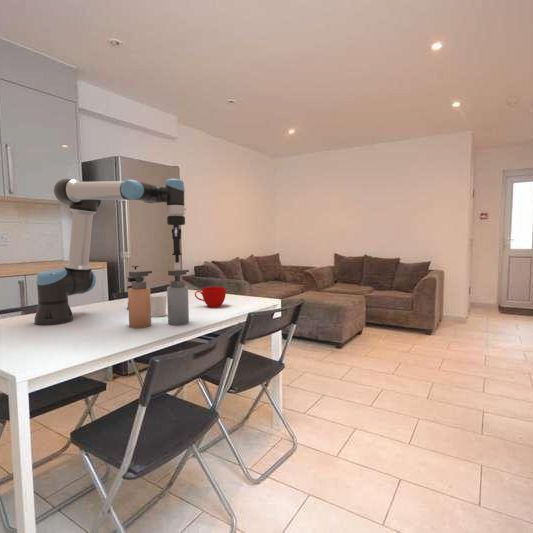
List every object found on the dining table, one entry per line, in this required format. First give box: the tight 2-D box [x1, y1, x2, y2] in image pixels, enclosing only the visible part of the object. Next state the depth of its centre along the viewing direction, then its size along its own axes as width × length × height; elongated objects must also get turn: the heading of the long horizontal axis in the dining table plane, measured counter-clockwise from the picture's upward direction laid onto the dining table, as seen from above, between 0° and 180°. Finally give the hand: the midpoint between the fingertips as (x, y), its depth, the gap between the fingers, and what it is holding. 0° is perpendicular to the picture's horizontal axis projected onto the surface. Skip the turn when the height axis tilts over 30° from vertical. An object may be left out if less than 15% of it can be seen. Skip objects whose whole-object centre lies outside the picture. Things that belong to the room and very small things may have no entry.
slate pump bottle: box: [166, 279, 190, 326], centre depth 158 cm, size 9×9×19 cm
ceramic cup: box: [194, 286, 227, 308], centre depth 197 cm, size 13×17×10 cm
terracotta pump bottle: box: [127, 280, 152, 329], centre depth 153 cm, size 9×9×19 cm
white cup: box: [150, 293, 167, 318], centre depth 174 cm, size 8×8×10 cm
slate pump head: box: [167, 269, 190, 281], centre depth 158 cm, size 10×4×7 cm, turn 147°
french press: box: [126, 265, 146, 311], centre depth 192 cm, size 12×9×23 cm
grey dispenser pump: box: [128, 270, 153, 282], centre depth 154 cm, size 10×4×7 cm, turn 147°
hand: (177, 269), depth 157 cm, fingers closed
